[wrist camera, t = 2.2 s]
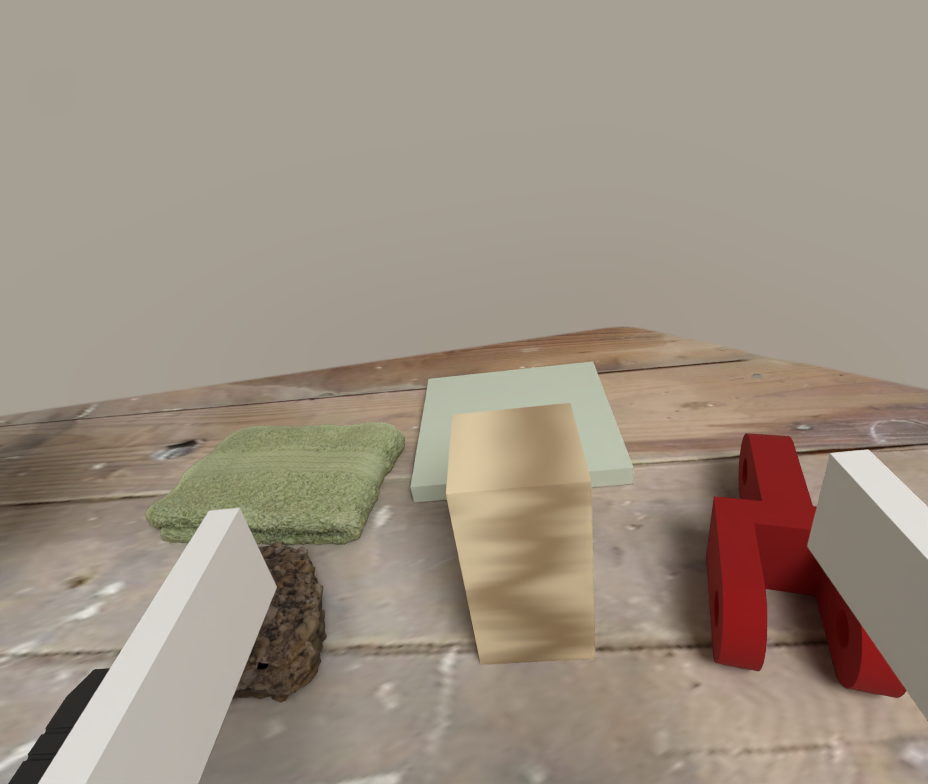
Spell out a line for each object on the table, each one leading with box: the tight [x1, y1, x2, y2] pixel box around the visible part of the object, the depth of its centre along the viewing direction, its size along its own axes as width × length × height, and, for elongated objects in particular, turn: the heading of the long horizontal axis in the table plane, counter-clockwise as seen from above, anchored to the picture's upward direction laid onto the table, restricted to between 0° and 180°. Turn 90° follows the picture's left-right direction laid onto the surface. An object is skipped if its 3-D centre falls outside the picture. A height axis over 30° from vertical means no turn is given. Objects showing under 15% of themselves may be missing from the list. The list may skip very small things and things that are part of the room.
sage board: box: [410, 362, 633, 503], centre depth 46 cm, size 16×16×2 cm
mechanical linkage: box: [706, 433, 907, 698], centre depth 30 cm, size 16×7×5 cm, turn 162°
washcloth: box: [145, 422, 405, 545], centre depth 43 cm, size 13×18×3 cm
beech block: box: [446, 403, 595, 665], centre depth 28 cm, size 6×6×12 cm
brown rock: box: [232, 542, 327, 702], centre depth 31 cm, size 12×10×5 cm
